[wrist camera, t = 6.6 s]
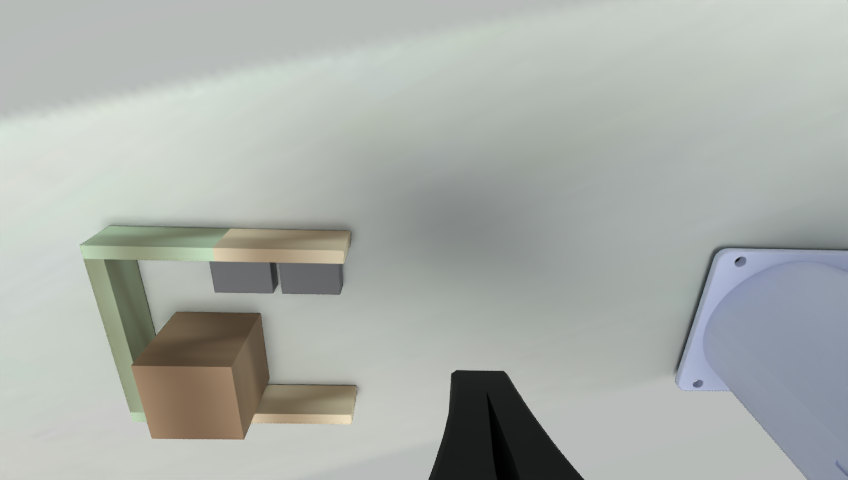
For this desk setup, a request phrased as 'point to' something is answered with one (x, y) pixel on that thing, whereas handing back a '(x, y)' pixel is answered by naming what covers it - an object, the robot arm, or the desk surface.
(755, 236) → the desk surface
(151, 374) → the block
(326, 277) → the tiles
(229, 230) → the green beige u-shaped frame
